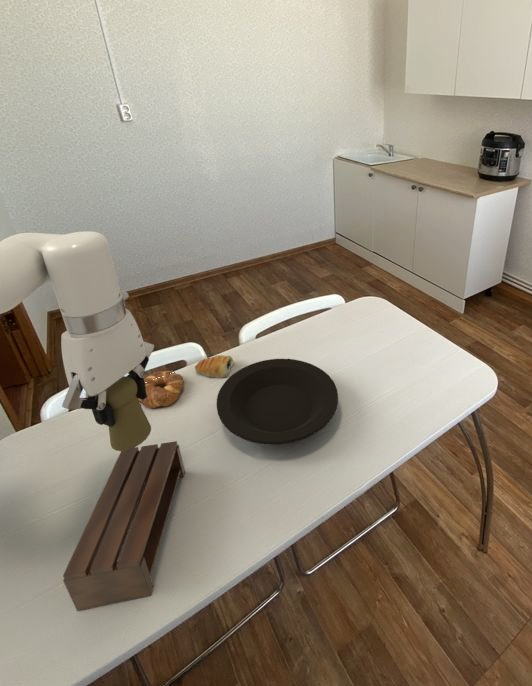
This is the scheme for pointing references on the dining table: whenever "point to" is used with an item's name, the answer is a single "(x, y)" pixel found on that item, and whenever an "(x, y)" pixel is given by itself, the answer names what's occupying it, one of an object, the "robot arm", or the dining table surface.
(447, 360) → the dining table surface
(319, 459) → the dining table surface
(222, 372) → the pastry
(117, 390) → the olive green shaker
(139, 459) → the rack
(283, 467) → the dining table surface
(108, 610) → the dining table surface
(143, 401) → the ring bread
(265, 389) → the plate
